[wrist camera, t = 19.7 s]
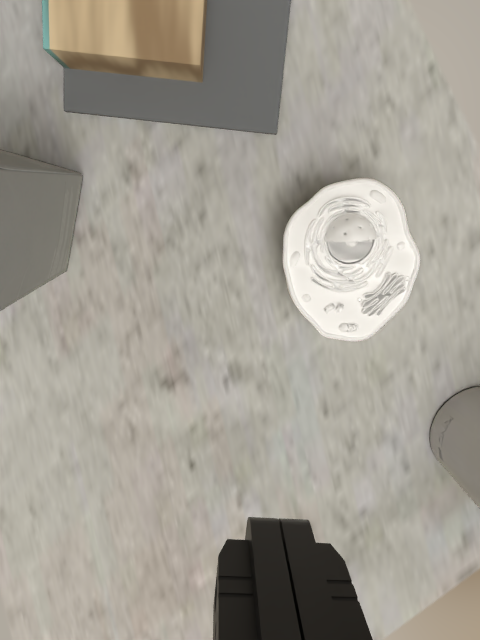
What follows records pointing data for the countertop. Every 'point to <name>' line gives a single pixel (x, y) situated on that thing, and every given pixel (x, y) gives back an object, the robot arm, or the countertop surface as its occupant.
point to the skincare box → (34, 223)
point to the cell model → (350, 258)
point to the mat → (218, 76)
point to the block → (128, 36)
